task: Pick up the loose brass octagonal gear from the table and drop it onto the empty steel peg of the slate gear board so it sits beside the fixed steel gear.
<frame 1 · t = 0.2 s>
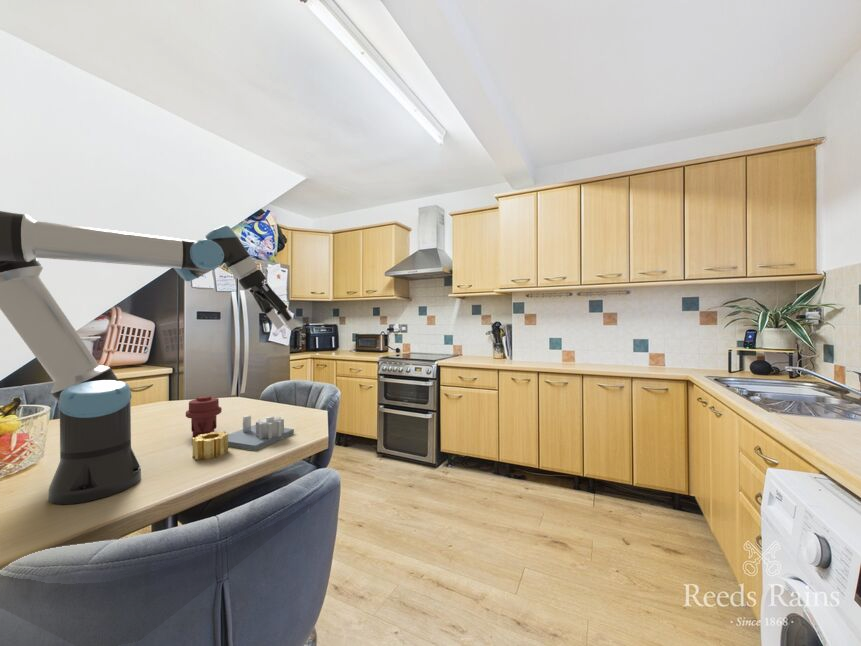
hand: (287, 327, 120), 35 cm above the table, tool tilted 35°, fingers open, 13 cm apart
gear board: (255, 438, 112), on the table
brass gear: (210, 453, 99), on the table
mechanical component: (204, 434, 117), on the table
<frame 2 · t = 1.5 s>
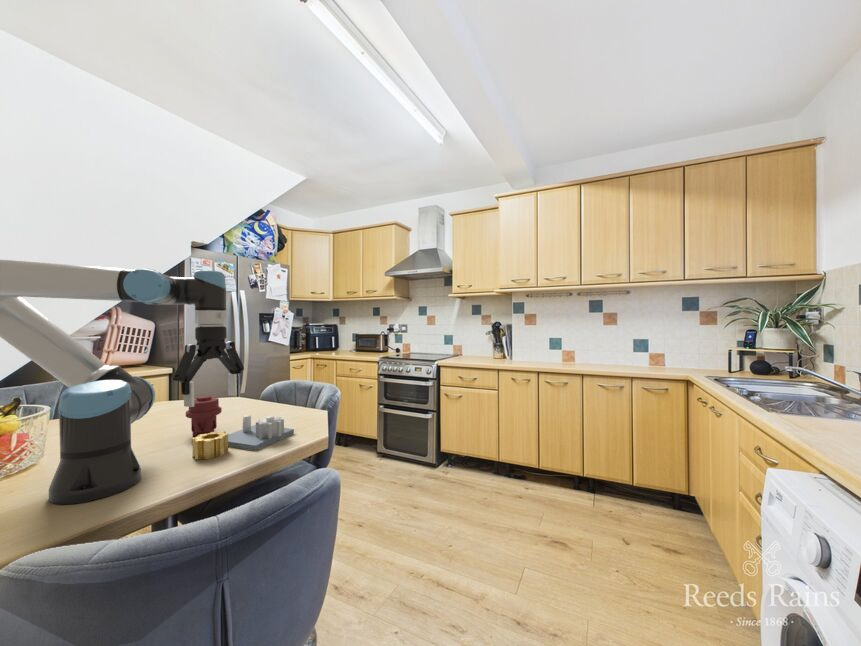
hand: (212, 400, 100), 15 cm above the table, tool pointing down, fingers open, 13 cm apart
nothing on the table moved.
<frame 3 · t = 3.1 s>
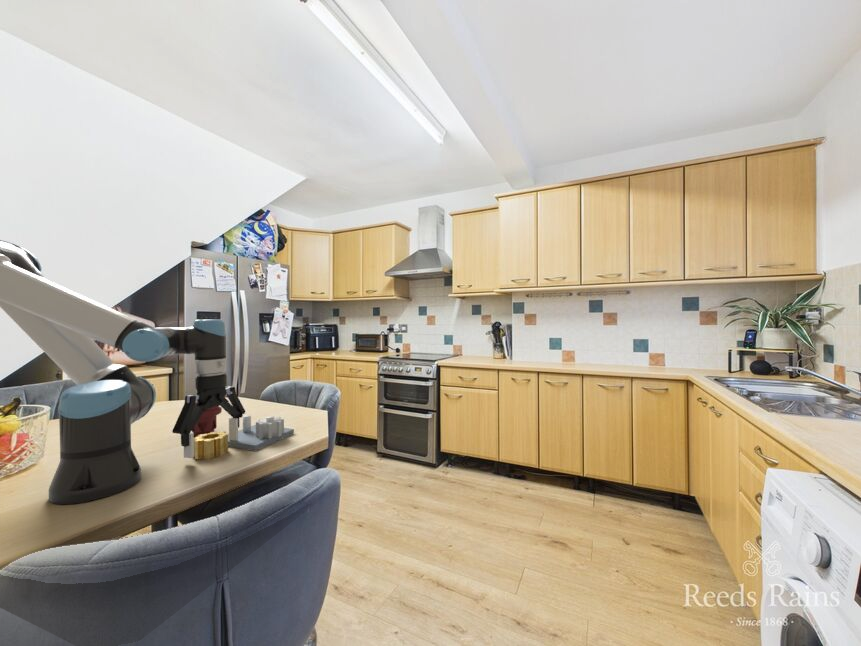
hand: (213, 448, 99), 1 cm above the table, tool pointing down, fingers open, 13 cm apart
nothing on the table moved.
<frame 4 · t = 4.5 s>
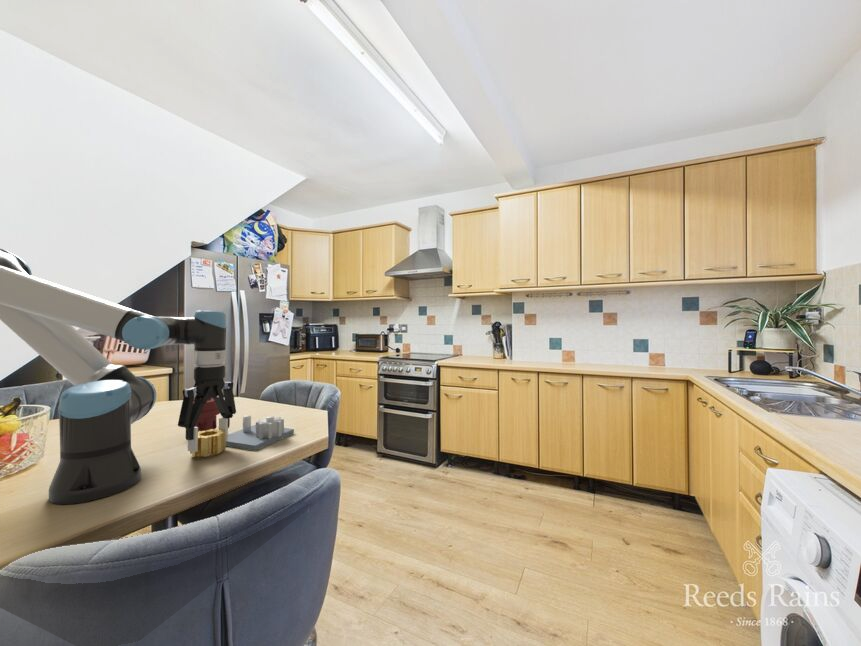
hand: (208, 445, 99), 3 cm above the table, tool pointing down, fingers closed on brass gear, 8 cm apart
brass gear: (208, 451, 99), point 1 cm above the table, touching gripper
everything else where it was.
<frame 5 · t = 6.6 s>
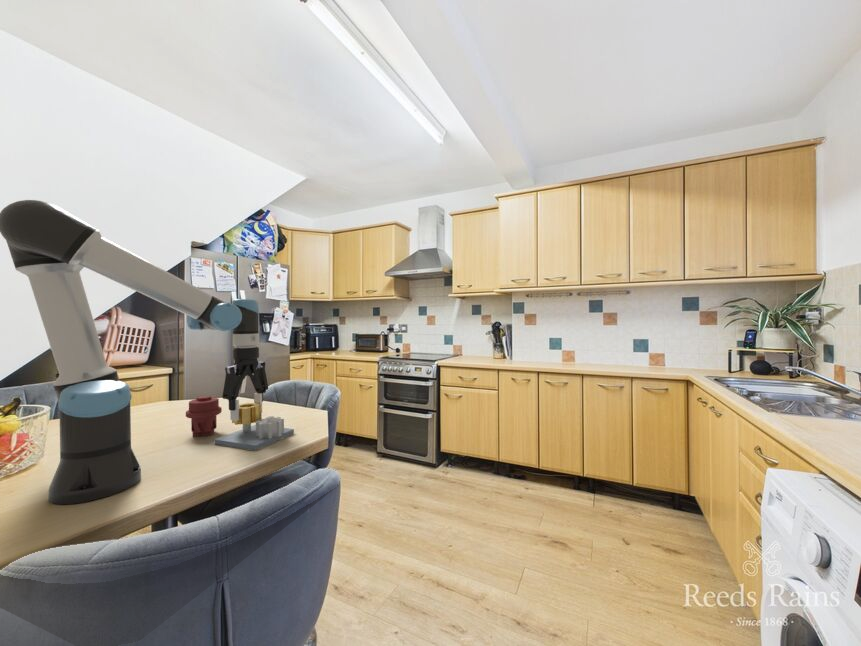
hand: (247, 416, 114), 7 cm above the table, tool pointing down, fingers closed on brass gear, 8 cm apart
brass gear: (247, 421, 114), point 5 cm above the table, touching gripper
everything else where it was.
when the fingers open (3 cm above the table, at t = 8.3 s): brass gear stays where it is, resting on gear board.
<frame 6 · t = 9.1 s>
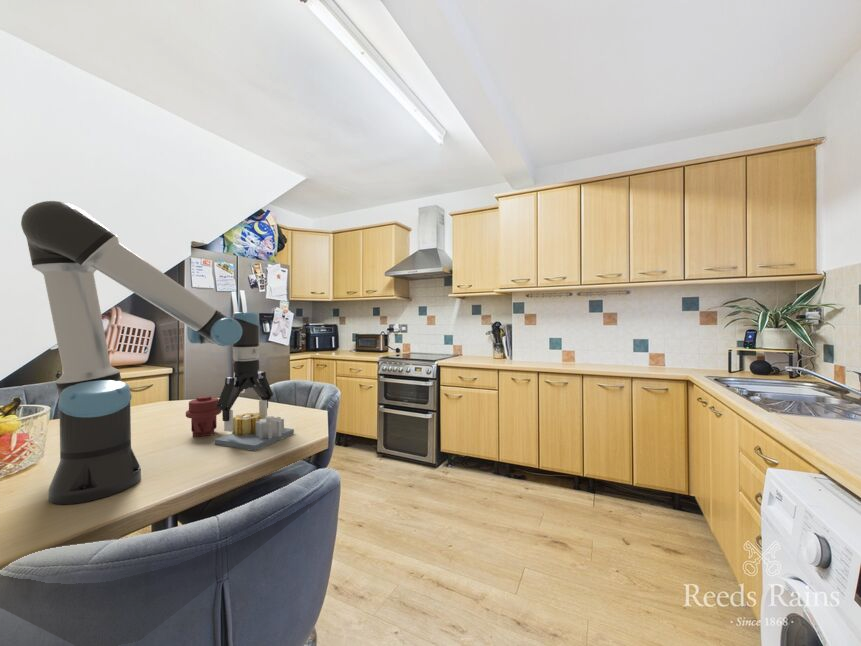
hand: (246, 424, 114), 4 cm above the table, tool pointing down, fingers open, 13 cm apart
brass gear: (247, 431, 114), point 1 cm above the table, touching gear board
everything else where it was.
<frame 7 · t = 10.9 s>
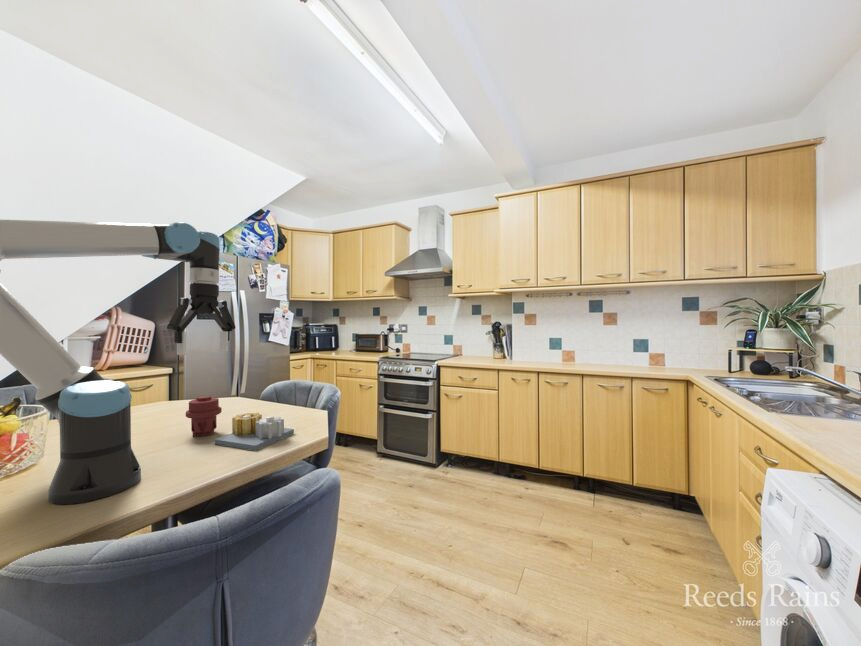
hand: (203, 353, 107), 28 cm above the table, tool pointing down, fingers open, 13 cm apart
nothing on the table moved.
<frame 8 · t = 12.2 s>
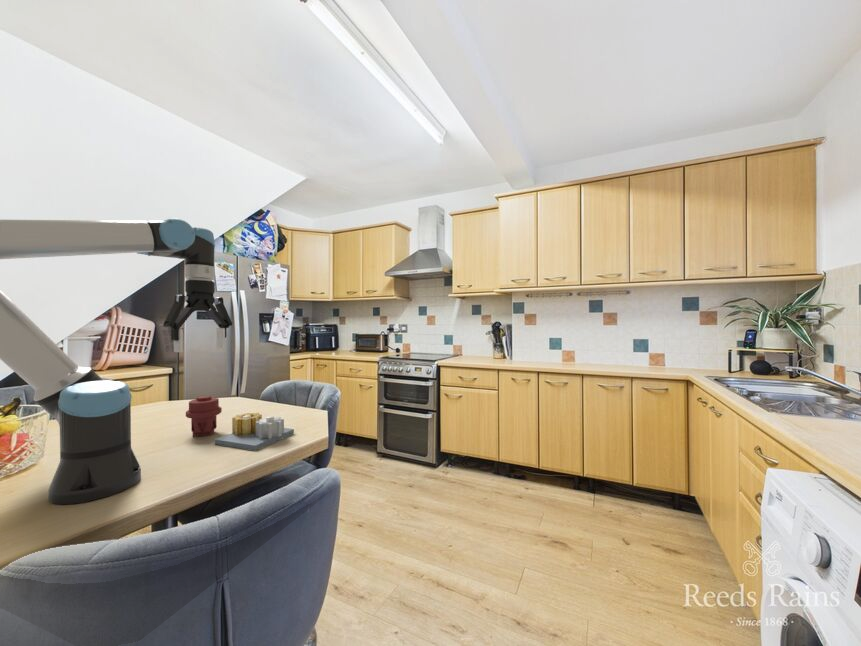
hand: (200, 350, 107), 29 cm above the table, tool pointing down, fingers open, 13 cm apart
nothing on the table moved.
at the end: brass gear 0.1 cm from the target spot, point 1.5 cm above the table; brass gear tilted 0°; the gripper is holding nothing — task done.
